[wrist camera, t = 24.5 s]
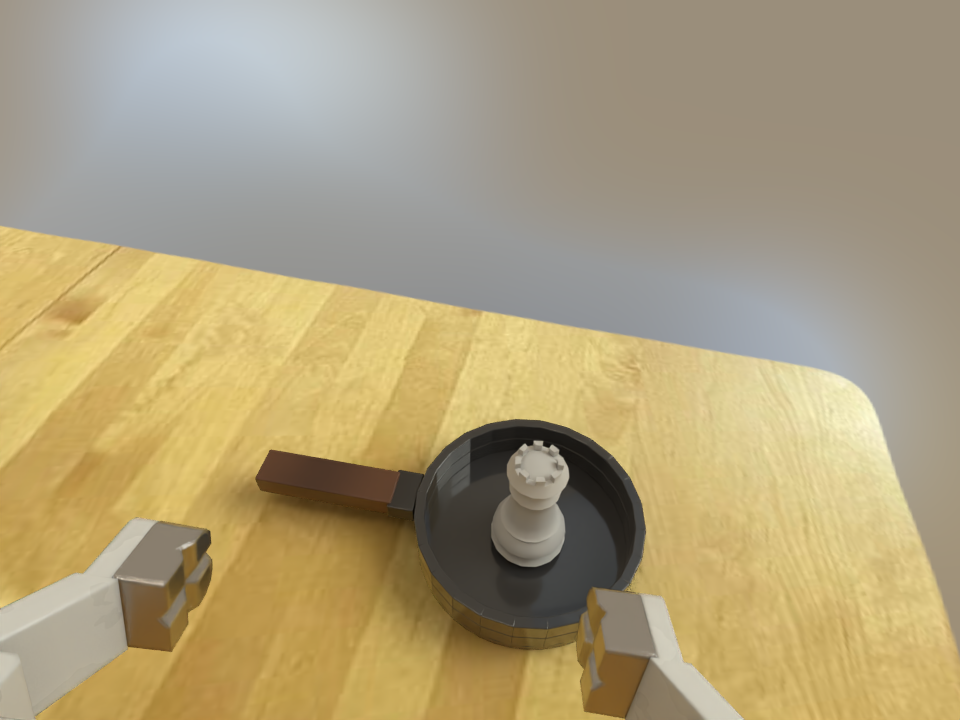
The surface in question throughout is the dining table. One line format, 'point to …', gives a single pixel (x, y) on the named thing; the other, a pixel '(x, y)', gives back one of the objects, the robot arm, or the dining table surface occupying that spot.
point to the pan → (505, 585)
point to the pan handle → (340, 483)
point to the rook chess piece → (532, 507)
